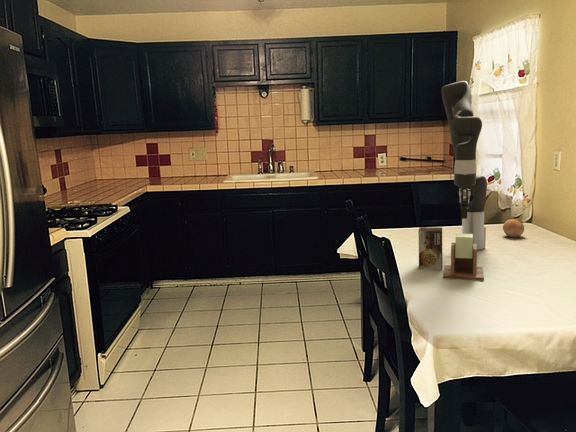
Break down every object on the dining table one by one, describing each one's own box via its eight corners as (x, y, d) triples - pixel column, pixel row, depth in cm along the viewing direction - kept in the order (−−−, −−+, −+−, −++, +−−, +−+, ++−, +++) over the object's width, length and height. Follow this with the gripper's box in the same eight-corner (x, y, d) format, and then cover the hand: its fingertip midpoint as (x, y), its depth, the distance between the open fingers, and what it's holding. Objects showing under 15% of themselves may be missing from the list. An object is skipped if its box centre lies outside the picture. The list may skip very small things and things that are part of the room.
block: (455, 253, 184) (455, 233, 183) (471, 254, 182) (472, 233, 181) (455, 257, 179) (455, 237, 177) (472, 258, 177) (472, 237, 175)
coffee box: (442, 265, 193) (443, 227, 190) (442, 270, 187) (442, 230, 184) (419, 264, 196) (419, 226, 193) (418, 269, 190) (418, 229, 187)
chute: (444, 267, 190) (444, 240, 188) (482, 269, 186) (483, 242, 184) (443, 278, 178) (443, 249, 176) (484, 280, 173) (484, 251, 171)
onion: (519, 241, 236) (529, 223, 234) (517, 240, 228) (527, 222, 226) (500, 233, 240) (510, 215, 239) (497, 232, 233) (507, 213, 231)
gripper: (454, 170, 182) (453, 214, 185) (454, 174, 170) (453, 221, 173) (475, 170, 180) (474, 215, 183) (476, 173, 167) (475, 222, 170)
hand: (464, 218), depth 178 cm, fingers closed
